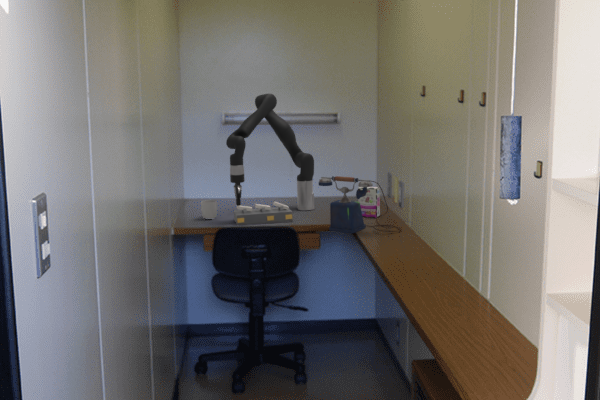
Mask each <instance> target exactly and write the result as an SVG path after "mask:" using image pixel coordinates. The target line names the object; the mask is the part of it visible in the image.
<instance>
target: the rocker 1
mask: <svg viewBox="0 0 600 400" xmlns="http://www.w3.org/2000/svg"><path fill="white" fill-rule="evenodd" d="M245 208H246V209H247V211H252V209H253V207H252V206H247V205H239V206H237V205H236V210H243V209H245Z"/></svg>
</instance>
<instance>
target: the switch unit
mask: <svg viewBox="0 0 600 400" xmlns="http://www.w3.org/2000/svg"><path fill="white" fill-rule="evenodd" d="M233 219H234V220H235V221H234V222H236V223H235V224H236V226H237V225H239V226H248V225H247V224H252V225H261V224H263V225H264V224H265V225H266V224H276V223H289V222H290V223H292V221H293V210H291V208H290V207H289V208H288V210H286V209H284V208H283V206H280V207H278V206H275V207H271V209H270V210H267V209H265V207H262V209H260V208H252V211H247V209H246V208H245V209H243V210H240V209H234V210H233Z"/></svg>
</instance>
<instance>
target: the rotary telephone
mask: <svg viewBox="0 0 600 400" xmlns="http://www.w3.org/2000/svg"><path fill="white" fill-rule="evenodd" d="M333 182H334V184H335V187H336V190H337V191H339V192H341V193H342V194H343V197H342V198H341V199H338V200H334V201H331V202H330V204H329V206H330V208H329V210H330V213H329V214H330V215H329V216H330V218H329V219H330V221H329V222H330V223H329V224H330V225H329V231H331V232H335V233H346V234H356V233H357V232H360V231H362V230H364V229H366V227H373V228H372V229H375V230H377V231H380V232H385V233H386V232H387V233H388V232H390V233H393V232H395V233H396V232H401V231H400V230H402V229H401V228H400V227H398V226H396V225H391V224H380V223H379V222H378V221H377V220H378V219H377V218H379V217H382V216H385V215H386V214H387V213H388V211H389V207H388V203H387V200H386V197H385V194H384V191H383V188H382V187H381V185H380V184H379V183H378V182H376V181H375V180H371V179H370V180H368V179H359V178H358V177H352V176H351V177H350V176H336V175H335V176H332V177H330V176H329V177H327V176H325V177H324V176H321V177H320V179H319V181H318V186H320V187H330V186H333ZM337 182H344V183H346V182H347V183H348V182H349V183H353V186H352V188H351V189H350V188H349V187H347V186H342V187H341V188H338V185H337ZM358 182H359V183H358ZM372 182H373V183H375V184H377V185H378V187H380V190H381V192H382V196H383V199H384V202H385V206H386V212H385V213H384V214H380V215H379V216H378V217H376V218H375V221H376V223H377V224H375V225H366V224H365V221H364V217H363V216H362V211H361V206H360V202H358V201H354V200H353V201H352V200H349V198H348V197H347V196H348V195H347V194H348V193H350V192H352V191H354V189H355V185H356V184H357V183H358V184H357V186H358V188H359V187H363V190H360V189H358V188H357V189H356V193H355V198H356V199H357V200H358V199H360V198H361V197H364V196H365V195H366V193H367V187H374V185H373V183H372ZM378 226H379V227H381V228H384V229H388V228H390V229H393V228H397V229H399V230H383V229H378V228H376V227H378Z"/></svg>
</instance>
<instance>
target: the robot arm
mask: <svg viewBox="0 0 600 400" xmlns="http://www.w3.org/2000/svg"><path fill="white" fill-rule="evenodd" d="M277 103H278V100H277V97H276V95H274V94H273V93H263V94H259V95H257V96H255V99H254V104H255V107H256V110H255V111H254V112H253V113H252V114H250V115H249V116H248V117H246V118H245V119H244V121H243V122H242V123H241V124H240V125H239V127H238V128H237V129H236V130H234V131H233V132H232V133H231V134H229V135H228V137H227V138H226V142H225V143H226V147H227V148H228V149H231V150H234V153H231V154H230V156H229V179H230V183H232V184H234V185H233V190H234V191H233V192H234V199H235V205H236V207H237V206H239V205H241V199H242V191H243V190H242V189H243V188H242V187H243V186H242V184H241V183H244V182H245V166H244V155H245V151H246V146H247V145H246V144H247V143H246V140H245V139H247V138H249V137H250V135H251V134H252V133H253V132H254V130H255V129H256V128H257V126H258V125H260V123H261V122H262V121H263V120H264V119H265V120H266V122H267V123H268V124H269V126H270V127H271V129H272V130H273V132H274V134H275V136H277V137H278V139H279V141H280V142H281V143H282V145H283V146H284V148H285V150H286V151H287V153H288V154H289V156H290V158H291V160H292V162H293V164H294V165H295V166H296V168H298V169H299V170H300V173H299V174H297V176H296V193H297V195H296V196H297V197H296V198H297V210H299V211H312V210H315V194H314V190H313V189H314V184H313V182H314V180H313V179H314V175H315V159H314V157H313V156H314V155H312V154H311V153H307V152H303V150H302V149H301V148H300V146H299V145H298V144H297V138H296V134H295V131H294V129H292V128H293V127H291V125H290V124H289V123H288V122H287V121H286V120H285V119H284V118H282V117H281V116H279V115H278V114H277V113H276V111H274V109H275V108H276V106H277ZM241 206H242V205H241Z"/></svg>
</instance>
